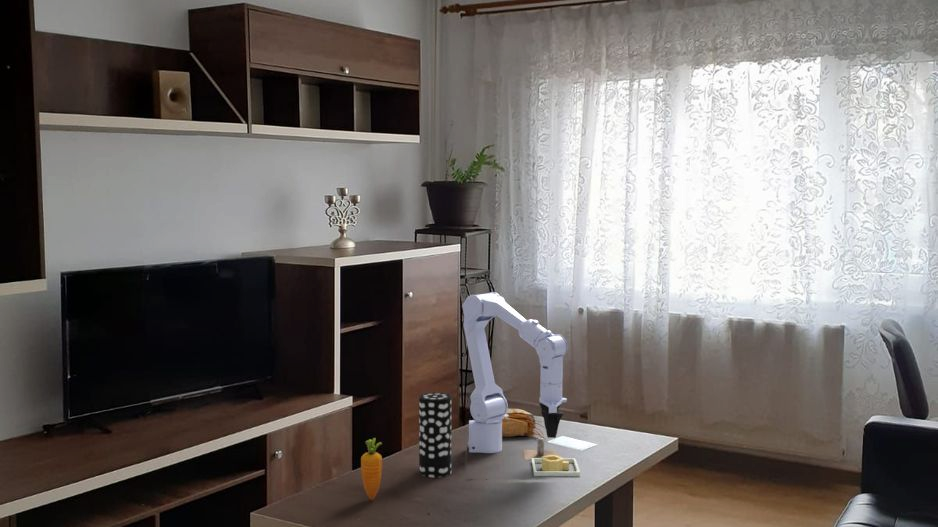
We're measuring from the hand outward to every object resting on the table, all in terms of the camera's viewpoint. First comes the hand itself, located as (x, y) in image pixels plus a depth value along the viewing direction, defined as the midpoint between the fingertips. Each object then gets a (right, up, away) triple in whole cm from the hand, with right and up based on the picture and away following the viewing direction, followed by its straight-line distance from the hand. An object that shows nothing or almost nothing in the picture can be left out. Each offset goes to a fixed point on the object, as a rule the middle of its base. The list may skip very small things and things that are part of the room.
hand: (550, 433), depth 243 cm
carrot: (-44, -12, -23) cm, 51 cm away
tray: (+1, -10, -2) cm, 10 cm away
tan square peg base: (-2, -9, +10) cm, 13 cm away
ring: (0, -9, -2) cm, 9 cm away
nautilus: (-8, -7, +29) cm, 31 cm away
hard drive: (+8, -8, +21) cm, 24 cm away
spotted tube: (-30, -10, -3) cm, 32 cm away
